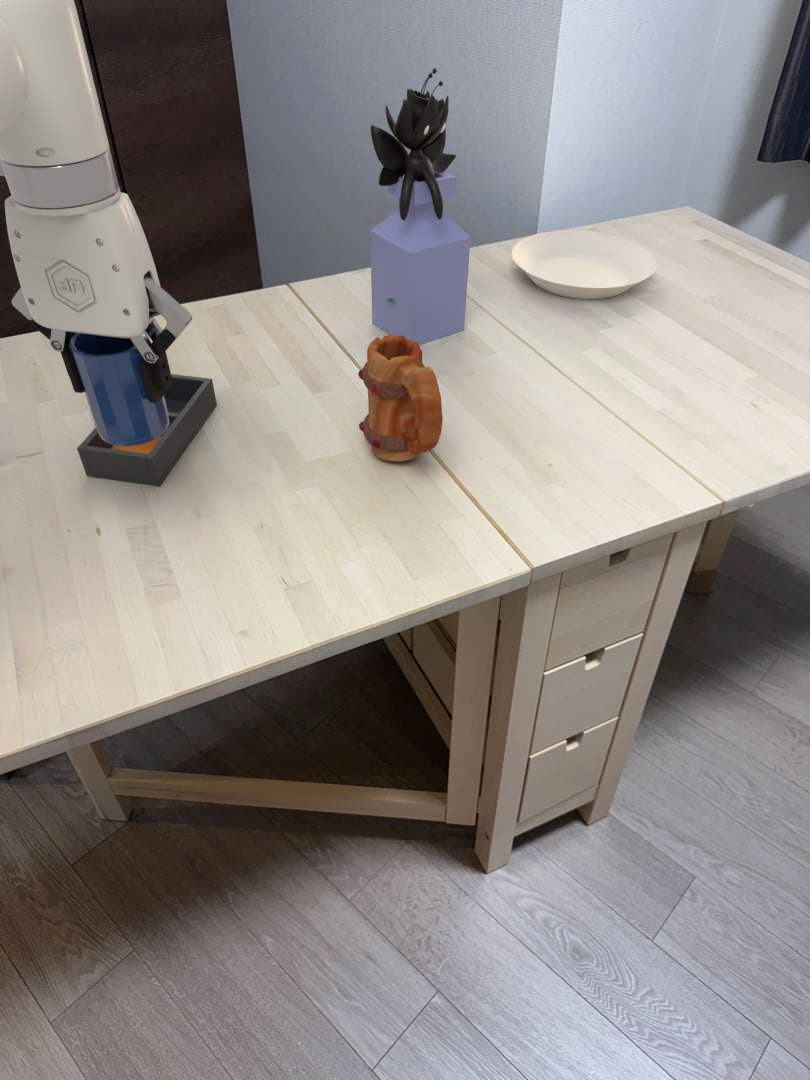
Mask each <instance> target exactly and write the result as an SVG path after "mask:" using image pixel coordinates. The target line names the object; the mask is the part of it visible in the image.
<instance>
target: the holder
mask: <svg viewBox="0 0 810 1080" xmlns="http://www.w3.org/2000/svg"><path fill="white" fill-rule="evenodd" d="M171 376H172V385H171V387H170V389H169V390H168V391H167V392H166V394H165V395H164V398H165V402H166V406H167V410H168V414H169V426H168V428H167V430H166V431H165V432H164V433H163V434H162V435H161V436H160V437H158V438H156V439H155V440H152V441H150V442H147V443H144V444H141V445H136V446H116V445H112V444H109V443H107V442H105V441H104V440H103V439H102V438H101V437H100V435H99V433H98V430H97V428H96V427H95V428H93V429H92V431H91V432H90V433H89V434H88V435H87V436H86V438H85V439H84V440H83V441H82V442H81V443H80V444H79V446H78V447H77V448H76V450H77V452H78V455H79V456H78V457H79V459H80V461H81V464H82V467H83V470H84V472H85V475H86V477H91V478H97V479H105V480H110V481H111V480H113V481H118V482H124V483H125V482H126V483H133V484H140V485H148V486H154V487H155V486H156V487H160V486H161V485H162V484H163V482H164V481H165V480H166V478H167V477H168V475H169V474H170V473H171V471H172V470H173V468H174V467H175V465H176V464H177V462H179V460H180V459H181V457H182V456H183V454H184V452H185V451H186V450H187V449H188V447H189V446H190V444H191V443H192V441H193V440H194V438H195V437H196V435H198V433H199V431H200V430H201V429H202V427H203V426H204V424H205V423H206V422H207V420H208V419H209V417H210V416H211V415H212V413H213V412H214V410H215V408H216V407H217V406H218V403H217V398H216V392H215V387H214V382H213V378H208V377H199V376H192V375H183V374H175V373H171Z"/></svg>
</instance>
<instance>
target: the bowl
mask: <svg viewBox="0 0 810 1080" xmlns="http://www.w3.org/2000/svg"><path fill="white" fill-rule="evenodd" d="M511 258H512V260H513V261H514V263H515V264H516V266H517V267H519V269H522V271H523V272H524V273H525V274H526V275H527V276H528V278H529V279H530V280H531V281H532V282H533V283H534V284H535V285H536V286H537V287H538V288H540V289H542V290H545V291H546V292H547V293H550V294H554V295H557V296H561V297H564V298H570V299H578V300H602V299H608V298H609V299H610V298H613V297H616V296H619V295H621V294H623V293H625V292H626V291H628V290H630V289H631V288H632V287H634V286H636V285H637V284H639V283H641V282H643V281H645V280H646V279H649V277H651V276H652V275H653V274H654V273H655V272H656V270H657V267H658V266H657V263H658V262H657V259H656V258H655V256H654V255H653V254H652V253H651V252H650V251H649V250H648V249H646V248H645V247H643V246H642V245H640V244H638V243H636V242H634V241H631V240H629V239H626V238H623V237H621V236H617V235H613V234H609V233H603V232H598V231H590V230H576V229H575V230H574V229H569V230H568V229H566V230H562V229H561V230H552V231H551V230H550V231H544V232H539V233H535V234H532V235H529V236H527V237H524V238H523V239H521V240H519V241H518V242H517V243H516V244H514V246H513V248H512V250H511Z"/></svg>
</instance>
